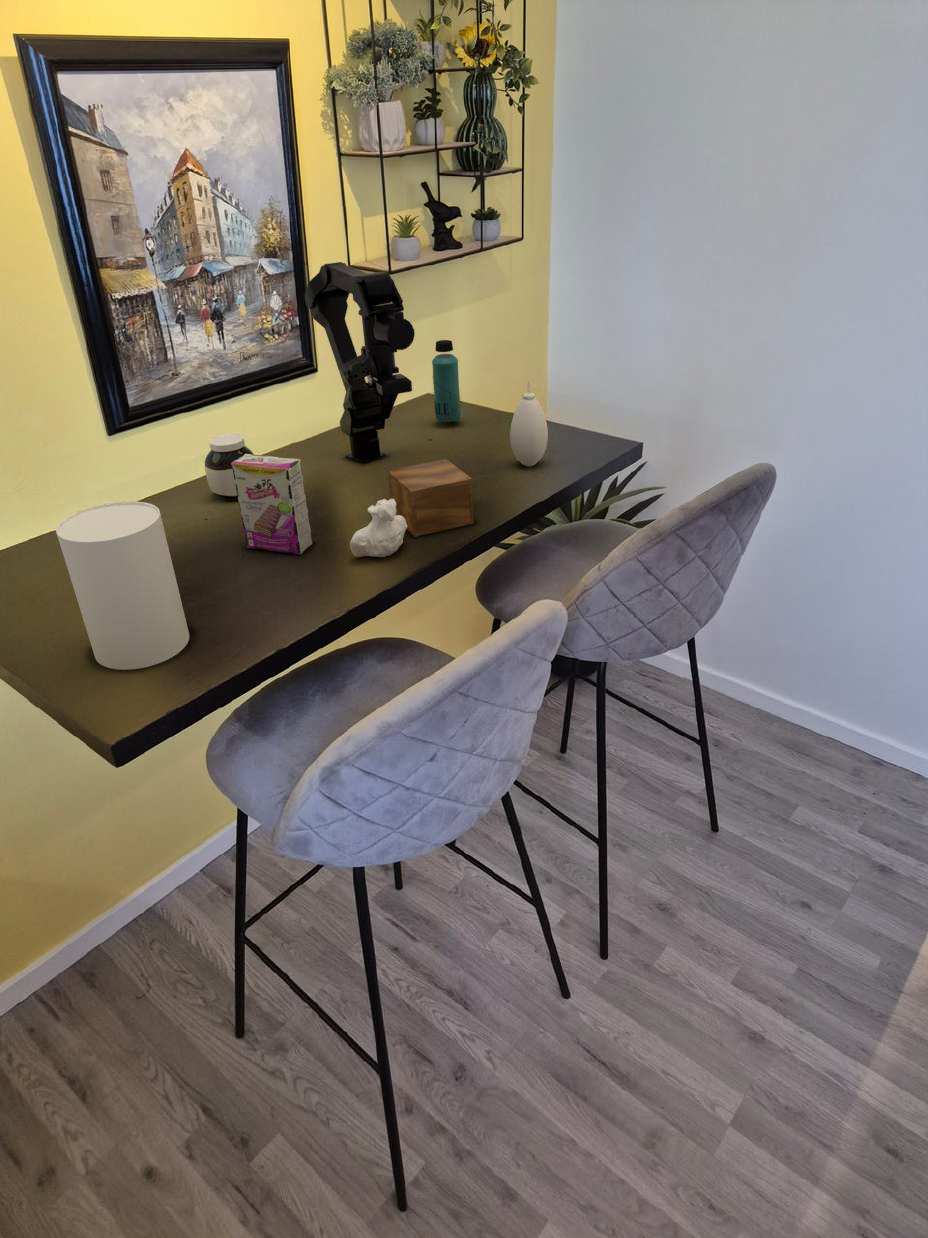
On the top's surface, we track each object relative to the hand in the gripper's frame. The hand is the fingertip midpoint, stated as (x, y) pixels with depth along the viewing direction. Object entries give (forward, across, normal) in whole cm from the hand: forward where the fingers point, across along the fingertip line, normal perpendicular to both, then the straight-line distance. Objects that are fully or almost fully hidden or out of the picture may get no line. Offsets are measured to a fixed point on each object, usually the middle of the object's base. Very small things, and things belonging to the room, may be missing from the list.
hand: (386, 418), depth 179 cm
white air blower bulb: (+12, +10, +28) cm, 32 cm away
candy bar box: (+12, +24, -30) cm, 41 cm away
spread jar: (+12, -7, -32) cm, 35 cm away
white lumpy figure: (+12, +36, -14) cm, 41 cm away
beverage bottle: (+12, -25, +24) cm, 36 cm away
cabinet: (+12, +26, -1) cm, 29 cm away
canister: (+13, +48, -56) cm, 75 cm away
